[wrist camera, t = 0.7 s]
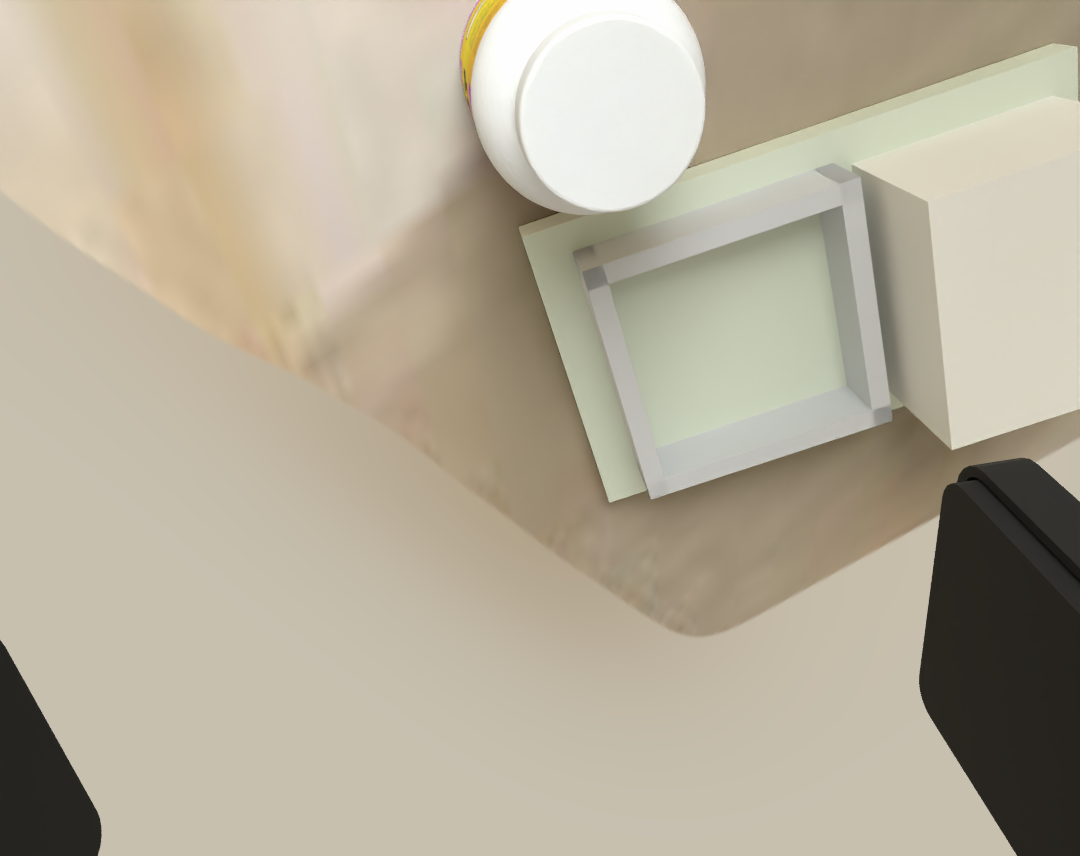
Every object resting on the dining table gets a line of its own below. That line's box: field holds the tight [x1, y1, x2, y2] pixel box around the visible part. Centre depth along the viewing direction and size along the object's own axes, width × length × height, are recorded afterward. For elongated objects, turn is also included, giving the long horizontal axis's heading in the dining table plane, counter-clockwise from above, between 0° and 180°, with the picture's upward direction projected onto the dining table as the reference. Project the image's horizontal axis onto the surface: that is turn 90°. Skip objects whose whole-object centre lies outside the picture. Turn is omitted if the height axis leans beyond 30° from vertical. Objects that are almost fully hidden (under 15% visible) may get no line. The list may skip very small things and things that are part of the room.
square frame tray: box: [518, 43, 1080, 503], centre depth 35 cm, size 22×13×8 cm, turn 108°
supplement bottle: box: [460, 0, 706, 215], centre depth 27 cm, size 7×7×13 cm
